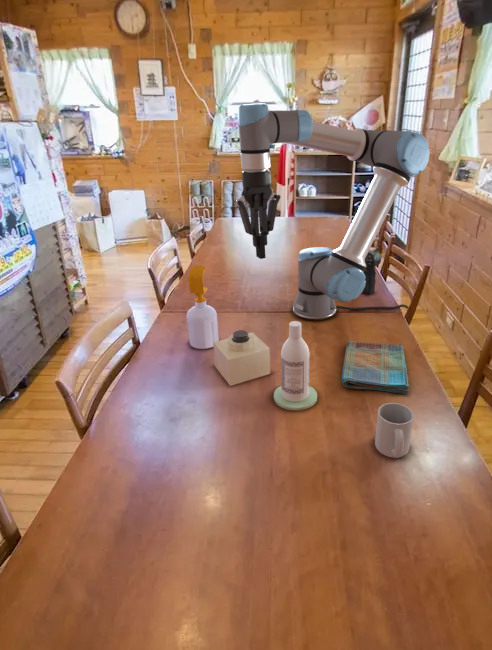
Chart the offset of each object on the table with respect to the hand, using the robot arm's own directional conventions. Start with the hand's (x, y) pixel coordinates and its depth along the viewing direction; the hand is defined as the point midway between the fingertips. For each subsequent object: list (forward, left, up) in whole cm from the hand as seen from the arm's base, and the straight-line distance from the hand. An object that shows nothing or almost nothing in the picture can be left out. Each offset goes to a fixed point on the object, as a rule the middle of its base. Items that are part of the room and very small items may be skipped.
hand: (260, 257), depth 127 cm
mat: (-2, +29, -28) cm, 40 cm away
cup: (-17, +53, -29) cm, 62 cm away
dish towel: (-27, +21, -29) cm, 44 cm away
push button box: (+9, +13, -28) cm, 32 cm away
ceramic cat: (-44, -37, -29) cm, 64 cm away
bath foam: (-2, +29, -28) cm, 40 cm away
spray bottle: (+18, -6, -29) cm, 34 cm away
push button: (+9, +13, -19) cm, 24 cm away
